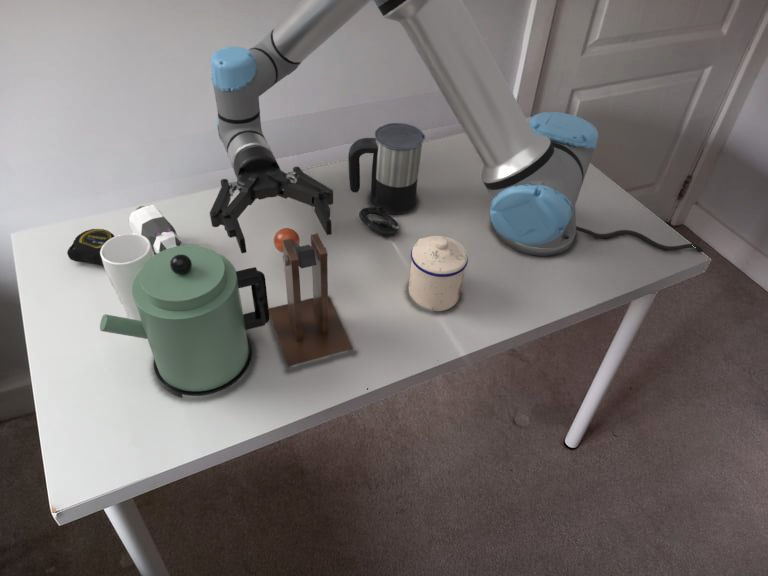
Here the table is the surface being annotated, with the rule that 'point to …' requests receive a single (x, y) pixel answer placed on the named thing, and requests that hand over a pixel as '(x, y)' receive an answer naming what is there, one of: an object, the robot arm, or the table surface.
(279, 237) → the switch lever
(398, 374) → the table surface
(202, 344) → the kettle
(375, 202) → the milk frother
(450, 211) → the table surface
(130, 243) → the drinking glass
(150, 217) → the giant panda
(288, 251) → the switch base
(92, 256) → the tape measure
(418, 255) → the teacup with lid
